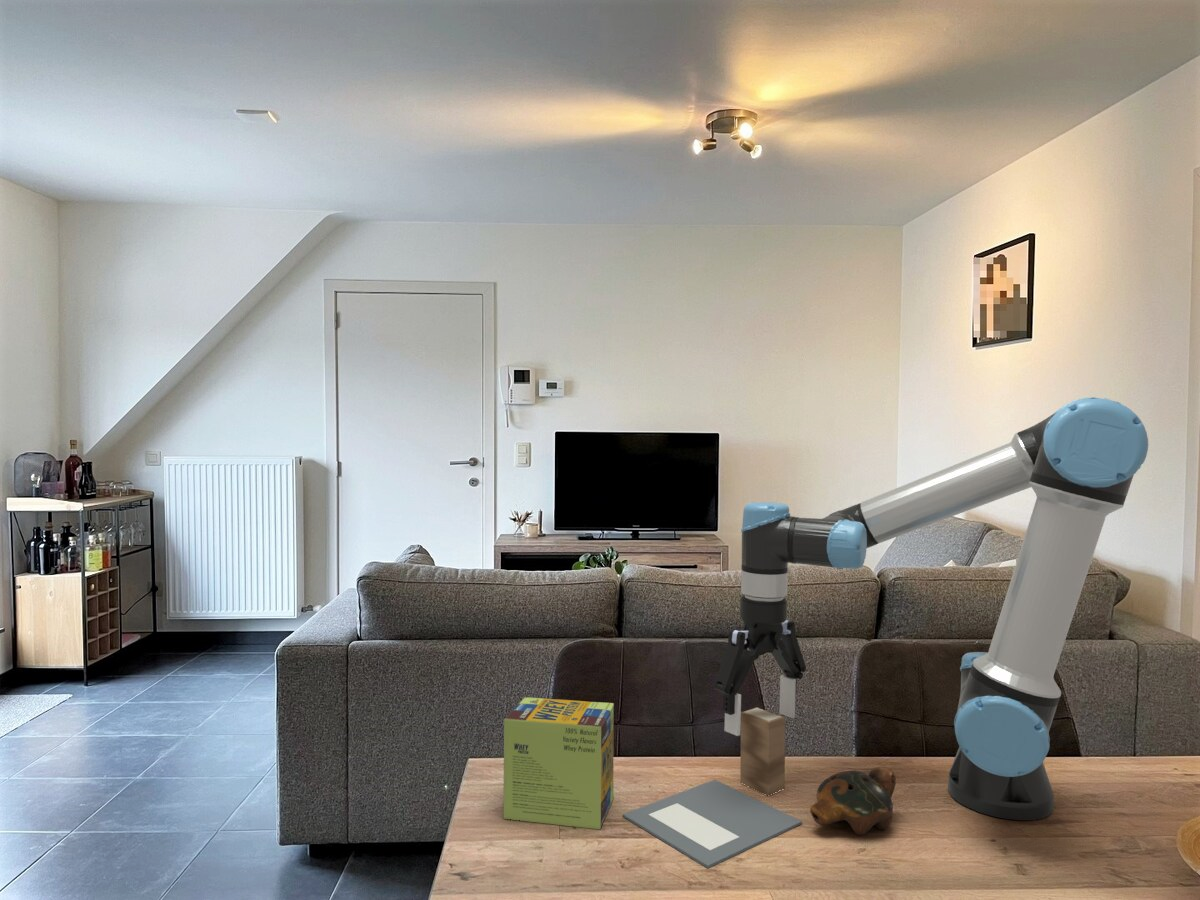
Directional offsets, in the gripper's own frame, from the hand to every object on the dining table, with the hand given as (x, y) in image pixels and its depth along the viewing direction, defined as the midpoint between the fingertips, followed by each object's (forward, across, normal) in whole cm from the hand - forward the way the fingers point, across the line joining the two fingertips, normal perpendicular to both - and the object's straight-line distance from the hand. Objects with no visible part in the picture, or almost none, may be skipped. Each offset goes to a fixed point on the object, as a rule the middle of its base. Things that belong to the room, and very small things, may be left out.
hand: (760, 724), depth 131 cm
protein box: (+11, +31, -14) cm, 35 cm away
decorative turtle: (+10, -1, +18) cm, 20 cm away
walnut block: (+10, 0, 0) cm, 10 cm away
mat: (+10, +15, +4) cm, 18 cm away
